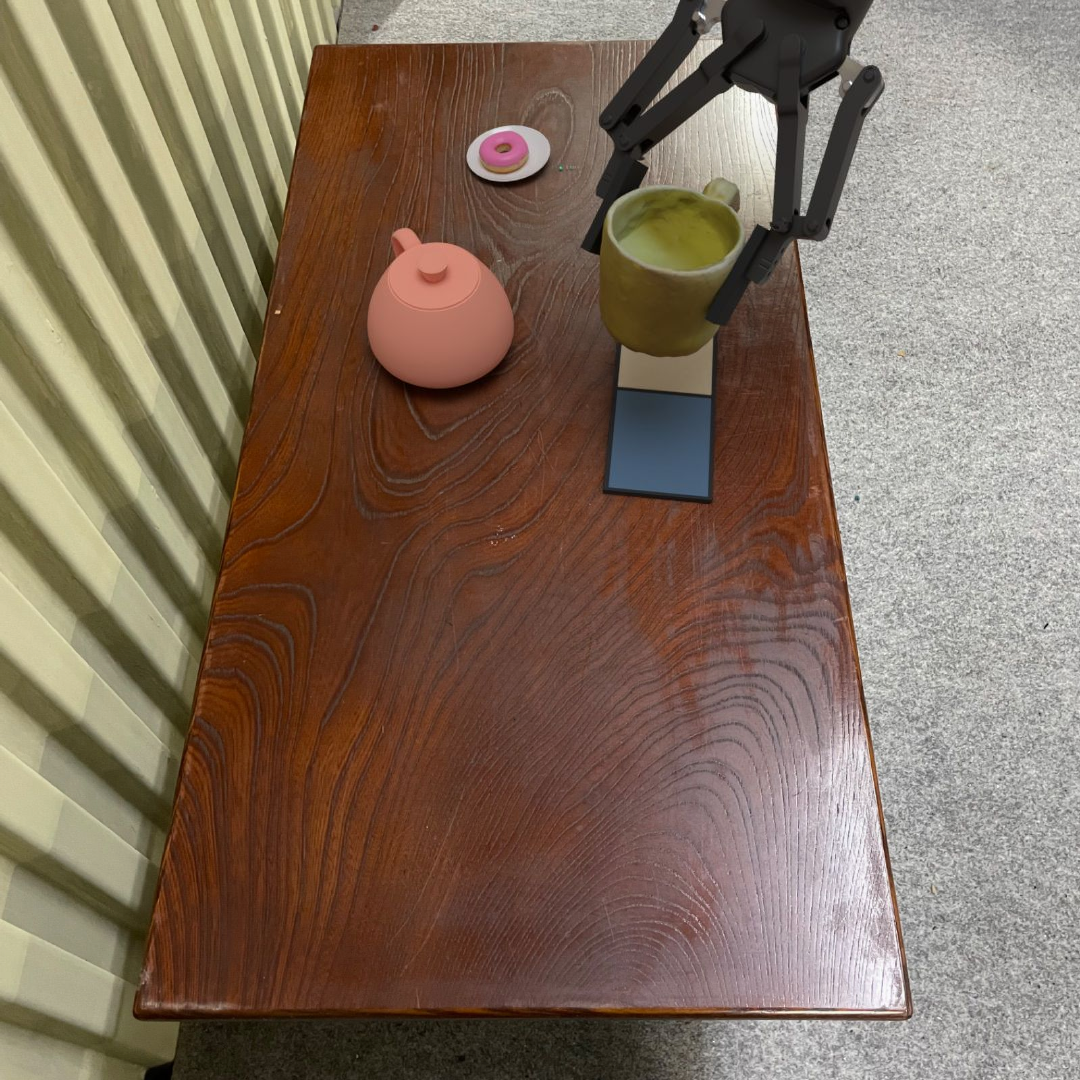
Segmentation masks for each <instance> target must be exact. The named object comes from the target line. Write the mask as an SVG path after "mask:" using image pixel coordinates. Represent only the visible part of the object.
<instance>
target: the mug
mask: <svg viewBox="0 0 1080 1080" xmlns="http://www.w3.org/2000/svg"><path fill="white" fill-rule="evenodd" d="M740 194H741V193H740V188H739V187H738V185H737V184H736V183H734V182H732V181H730V180H727V179H726V178H724V177H721V176H720V177H716V178H714V179H712V180H710V182H708V183H707V184H706V185H705V187H704V188H703V191H702V192H700V191H698V190H696V189H694V188H692V187H687V186H681V185H680V186H678V185H675V184H668V185H666V184H663V183H660V184H652V185H646V186H643V187H639V189H636V190H633V191H631V192H629V193H627V194H625V195H623V196H621V197H620V198H618V199H617V200H615V202H614V203H613V204H612V205H611V207H610V208H609V210H608V212H607V215H606V218H605V221H604V226H603V234H602V243H601V250H600V256H599V275H598V276H599V279H598V281H599V282H598V285H599V289H598V291H599V295H598V304H599V313H600V318H601V320H602V323H603V325H604V327H605V329H606V330H607V332H608V334H609V335H610V337H611V338H612V339H613V340H614V341H616V343H617V342H618V343H619V344H621V345H623V346H625V347H626V348H627V349H629V350H631V351H634V352H640V353H645V354H647V355H650V356H654V357H681V356H688V355H691V354H693V353H695V352H697V351H698V350H700V349H701V348H702V347H703V346H704V345H706V344H707V343H708V342H709V341H710V340H711V339H712V338H713V336H714V335H715V333H716V332H717V330H718V331H719V329H720V326H721V325H716V324H713V323H711V322H710V321H708V320H706V319H705V317H706V315H707V313H708V311H709V310H710V308H711V306H712V304H713V302H714V301H715V299H716V297H717V295H718V293H719V292H720V290H721V288H722V286H723V284H724V283H725V281H726V279H727V277H728V275H729V274H730V272H731V270H732V268H733V266H734V265H735V263H736V261H737V259H738V257H739V256H740V254H741V252H742V250H743V248H744V246H745V245H746V243H747V241H746V240H747V239H746V231H745V226H744V223H743V220H742V218H741V217H740V215H739V214H738V213H739V211H740V208H741V195H740Z"/></svg>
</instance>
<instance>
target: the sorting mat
mask: <svg viewBox="0 0 1080 1080" xmlns="http://www.w3.org/2000/svg"><path fill="white" fill-rule="evenodd" d="M718 334H719V329H718V330H717V332H716V333H715V335H714V336H713V357H712V388H711V395H701V394H690V393H679V392H668V391H657V390H646V389H635V388H624V387H618V379H619V368H620V358H621V347H622V345H621V344H619V343H618V342H617V341H616V351H615V361H614V372H613V380H612V381H613V382H612V393H611V401H610V402H611V404H610V413H609V422H608V423H609V425H608V433H607V445H606V456H605V465H604V475H603V487H602V493H603V494H609V495H619V496H627V497H639V498H648V499H661V500H669V501H670V500H671V501H679V502H691V503H701V504H710V505H711V504H713V501H714V472H715V471H714V470H715V469H714V467H715V435H716V433H715V432H716V405H717V404H716V403H717V401H716V400H717V369H718V368H717V367H718V337H719V336H718Z"/></svg>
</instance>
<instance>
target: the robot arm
mask: <svg viewBox="0 0 1080 1080" xmlns="http://www.w3.org/2000/svg"><path fill="white" fill-rule="evenodd" d="M874 2H875V0H678V4H677V7H676V9H675V12H674V14H673V17H672V18H671V19H672V20H671V21H670V23H669V24H668V25H667V26H666V28H665V29H664V31H662V33H661V34H660V36H659V37H658V38H657V40H656V41H655V42H654V43H653V45H652V46H651V47H650V49H649V50H648V52H647V53H646V54H645V55H644V57H643V58H642V59H641V61H639V63H638V65H637V66H636V67H635V68H634V69H633V71H632V73H630V75H629V76H628V78H626V81H625V82H623V84H622V86H621V87H619V89H618V91H617V92H616V93H615V95H614V96H613V97H612V99H611V100H610V102H609V103H608V104H607V105H606V106H605V108H604V109H603V110H602V112H601V113H600V115H599V117H598V125H599V127H600V128H601V129H602V130H604V132H605V133H607V135H608V136H609V137H610V139H611V141H612V143H613V150H612V151H613V152H612V154H611V156H610V158H609V160H608V162H607V164H606V165H605V166H606V167H605V168H604V171H603V173H602V174H601V176H600V179H599V181H598V182H597V185H596V187H595V196H596V197H598V198H599V199H601V200H602V201H601V203H600V206H599V208H598V210H597V212H596V214H595V216H594V217H593V220H592V221H591V224H590V226H589V228H588V230H587V232H586V234H585V236H584V239H583V240H582V242H581V244H580V246H579V248H581V249H582V250H584V251H586V252H588V253H589V254H592V255H596V256H599V257H600V250H601V243H602V234H603V226H604V221H605V218H606V215H607V212H608V210H609V208H610V207H611V205H612V204H613V203H614V202H615V200H617V199H618V198H620V197H621V196H623V195H625V194H627V193H629V192H631V191H633V190H636V189H639V188H641V187H640V186H641V184H642V182H643V181H644V178H645V177H646V175H647V173H648V171H649V168H650V167H649V166H647V165H646V164H644V163H642V161H645V160H646V158H645V157H644V155H645V154H647V153H648V152H650V151H651V150H652V149H654V147H655V146H657V145H658V144H660V142H662V141H663V140H664V139H666V138H667V137H668V136H669V135H670V134H671V133H673V132H674V131H676V129H678V128H679V127H680V126H681V125H683V124H684V123H685V122H686V121H688V120H689V119H690V118H692V116H694V115H695V114H696V113H697V112H698V111H700V110H701V109H702V108H704V107H705V106H707V104H709V102H711V101H712V100H714V98H716V97H718V96H719V95H722V94H724V93H726V92H728V91H729V90H730V89H732V88H733V87H734V86H736V87H737V88H738V89H741V90H742V91H745V92H747V93H754V94H759V95H761V97H763V98H764V99H765V100H766V101H767V102H768V103H770V104H772V105H774V106H776V112H777V135H776V150H775V165H774V167H775V168H774V179H773V180H774V182H773V197H772V200H773V201H772V215H771V221H769V222H768V224H769V227H770V228H769V229H768V228H766V227H765V226H763V225H761V224H759V223H756V225H755V227H754V229H753V230H752V232H751V234H750V235H749V237H748V239H747V241H746V244H745V246H744V248H743V250H742V252H741V254H740V256H739V257H738V259H737V261H736V263H735V265H734V266H733V268H732V270H731V272H730V274H729V275H728V277H727V279H726V281H725V283H724V284H723V286H722V288H721V290H720V292H719V293H718V295H717V297H716V299H715V301H714V302H713V304H712V306H711V308H710V310H709V311H708V313H707V315H706V317H705V319H706V320H708V321H710V322H711V323H713V324H716V325H720V326H722V327H726V326H727V325H728V323H729V322H730V319H731V318H732V315H733V314H734V312H735V310H736V309H737V307H738V305H739V303H740V302H741V300H742V298H743V296H744V294H745V293H746V291H747V289H748V288H749V286H750V284H751V282H753V283H754V284H756V285H759V286H761V287H762V286H764V285H765V284H766V283H767V282H768V281H769V280H770V278H771V277H772V275H773V273H774V272H775V270H776V268H777V266H778V265H779V263H780V261H781V259H782V258H783V256H784V255H785V252H786V251H787V249H788V248H789V246H790V245H791V243H793V242H794V241H797V240H805V241H806V240H807V241H814V242H817V243H818V242H823V241H825V240H826V239H827V238H828V236H829V234H830V232H831V229H832V225H833V222H834V219H835V216H836V214H837V210H838V206H839V203H840V200H841V196H842V194H843V190H844V187H845V184H846V181H847V177H848V175H849V171H850V167H851V164H852V162H853V158H854V155H855V151H856V148H857V146H858V142H859V139H860V136H861V132H862V129H863V125H864V123H865V120H866V118H867V116H868V115H869V113H870V112H871V111H872V109H873V108H874V106H875V105H876V104H877V102H878V100H879V99H880V98H881V96H882V95H883V93H884V91H885V90H886V82H885V80H884V77H883V75H882V72H881V70H880V68H879V67H878V66H877V65H876V64H869V65H865V64H864V63H861V62H860V61H859V60H856V59H855V58H853V57H852V56H851V46H852V43H853V40H854V38H855V35H856V34H857V32H858V31H859V29H860V27H861V26H862V23H863V21H864V20H865V18H866V17H867V15H868V13H869V10H870V9H871V7H872V5H873V3H874ZM718 23H720V28H721V41H722V43H720V45H719V46H717V47H716V48H715V49H714V50H713V51H712V52H710V53H709V54H708V55H707V56H705V57H704V58H703V59H702V60H701V61H700V63H699V64H698V67H697V68H696V69H695V70H694V71H693V72H692V73H691V74H689V75H688V76H687V77H686V78H685V79H683V80H682V81H681V82H680V83H679V84H677V85H676V86H675V87H674V88H672V89H671V90H670V91H669V92H667V94H666V95H664V96H663V97H661V98H660V99H659V100H658V101H656V102H655V104H653V105H652V106H651V107H649V106H650V105H651V103H652V102H653V101H654V100H655V99H656V97H657V96H658V95H659V93H660V92H661V91H662V89H663V88H664V87H665V85H666V84H667V83H668V82H669V81H670V79H671V78H672V77H673V75H674V74H675V73H676V72H677V70H678V69H679V68H680V66H681V65H682V64H683V63H684V61H685V60H686V59H687V57H688V56H689V55H690V54H691V53H692V51H693V50H694V48H695V47H696V45H697V43H698V42H699V40H700V39H701V36H704V35H707V34H708V33H709V32H711V30H712V29H713V27H714V26H715V25H716V24H718ZM837 77H840V84H839V87H838V95H839V97H840V99H841V101H840V104H839V106H838V108H837V111H836V114H835V118H834V120H833V124H832V127H831V130H830V134H829V136H828V139H827V144H826V147H825V150H824V154H823V156H822V160H821V164H820V167H819V170H818V174H817V177H816V179H815V184H814V187H813V190H812V193H811V196H810V200H809V203H808V207H807V210H806V213H805V215H801V210H802V209H801V206H802V192H803V178H804V177H803V175H804V164H805V163H804V161H805V148H806V135H807V134H806V131H807V125H808V123H809V122H808V121H809V111H810V99H811V98H810V96H811V93H812V92H813V91H816V90H817V89H819V88H820V87H822V86H824V85H825V84H827V83H829V82H831V81H832V80H834V79H835V78H837Z"/></svg>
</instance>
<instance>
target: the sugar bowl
mask: <svg viewBox="0 0 1080 1080" xmlns="http://www.w3.org/2000/svg"><path fill="white" fill-rule="evenodd" d="M391 245H392V249H393V253H394V255H395V259H394V260H393V261H392V262H391V263H390V264H389V266H388V267H387V268H386V269H385V271H384V272H383V274H382V275H381V277H380V278H379V281H378V282H377V284H376V286H375V287H374V289H373V292H372V295H371V298H370V302H369V306H368V309H367V310H368V311H367V321H366V322H367V323H366V324H367V325H366V326H367V327H366V328H367V337H368V342H369V346H370V349H371V351H372V353H373V355H374V357H375V358H376V360H377V361H378V362H379V364H381V365H382V367H383V368H384V369H385V370H386V371H387V372H389V374H391V375H392V376H394V377H396V378H397V379H398V380H400V381H403V382H404V383H407V384H410V385H414V386H417V387H420V388H426V389H450V388H456V387H461V386H465V385H467V384H469V383H473V382H474V381H476V380H478V379H480V378H482V377H484V376H485V375H487V374H489V373H490V372H491V371H493V370H494V369H495V368H496V367H497V366H498V365H499V364H500V363H501V362H502V361H503V359H504V358H505V356H506V355H507V353H508V351H509V350H510V347H511V345H512V342H513V338H514V333H515V320H514V314H513V309H512V306H511V303H510V299H509V297H508V295H507V293H506V290H505V289H504V287H503V285H502V284H501V282H500V280H499V279H498V278H497V277H496V275H495V274H494V272H492V271H491V269H490V268H489V267H487V266H486V265H485V263H484V262H482V261H481V260H480V259H479V258H477V257H476V256H475V255H474V254H472V253H471V252H470V251H468V250H466V249H465V248H462V247H460V246H459V245H455V244H452V243H447V242H439V241H437V242H427V243H422V242H421V240H420V239H419V237H418V236H417V234H416V233H415V232H414V231H413V230H412V229H411V228H408V227H402V228H399V229H396V230H395V231H393V233H392V235H391Z"/></svg>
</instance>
